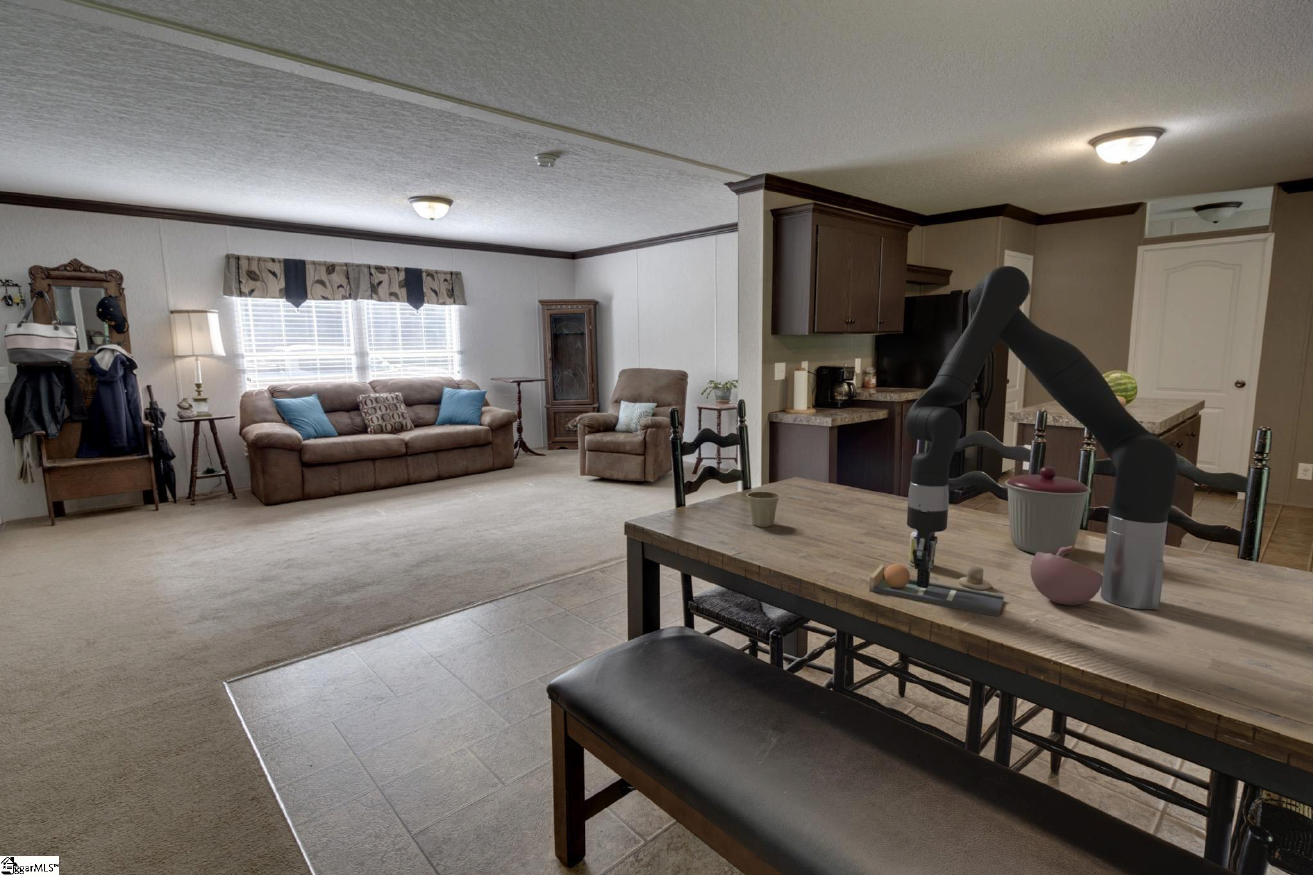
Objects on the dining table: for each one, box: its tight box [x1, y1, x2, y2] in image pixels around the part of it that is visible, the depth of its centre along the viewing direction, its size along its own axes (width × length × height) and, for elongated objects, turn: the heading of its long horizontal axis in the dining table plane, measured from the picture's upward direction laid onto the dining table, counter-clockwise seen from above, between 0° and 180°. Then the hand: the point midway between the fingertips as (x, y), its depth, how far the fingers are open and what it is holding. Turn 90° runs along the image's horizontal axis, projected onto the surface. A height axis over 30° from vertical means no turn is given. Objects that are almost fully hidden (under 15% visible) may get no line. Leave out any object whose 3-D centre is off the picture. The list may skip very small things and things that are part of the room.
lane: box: [868, 564, 1005, 618], centre depth 130 cm, size 24×9×3 cm, turn 57°
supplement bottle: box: [908, 529, 935, 568], centre depth 148 cm, size 5×5×10 cm
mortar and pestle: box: [1029, 546, 1103, 606], centre depth 126 cm, size 12×12×11 cm
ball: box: [884, 563, 911, 588], centre depth 134 cm, size 5×5×5 cm
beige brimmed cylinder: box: [958, 565, 991, 591], centre depth 136 cm, size 6×6×4 cm
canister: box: [1004, 466, 1092, 556], centre depth 158 cm, size 18×18×21 cm
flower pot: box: [746, 490, 781, 528], centre depth 182 cm, size 9×9×9 cm
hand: (922, 586), depth 132 cm, fingers closed
